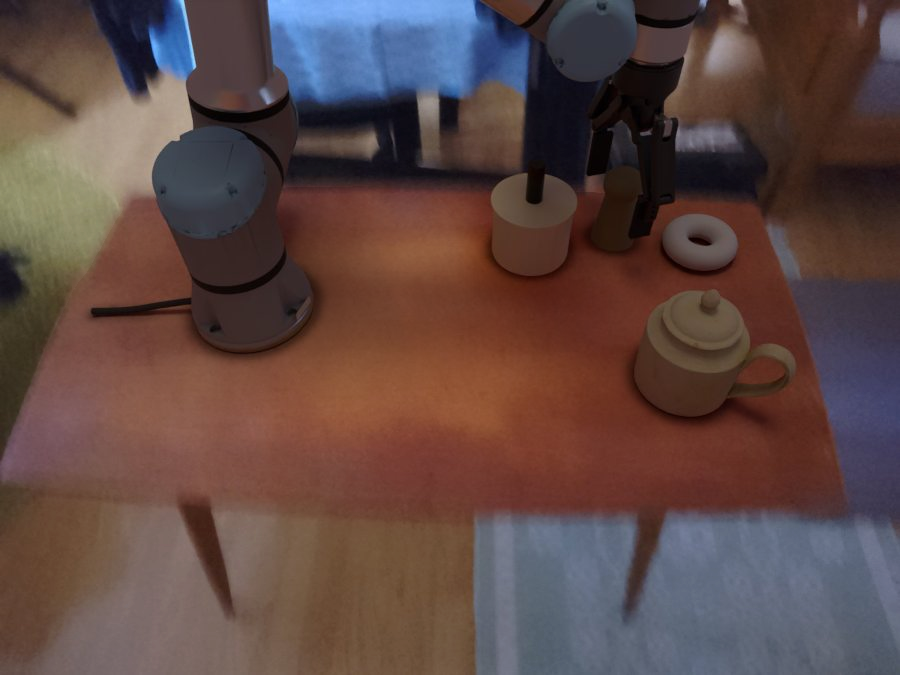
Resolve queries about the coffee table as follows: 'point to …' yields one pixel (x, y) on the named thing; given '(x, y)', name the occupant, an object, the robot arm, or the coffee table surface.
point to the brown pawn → (617, 209)
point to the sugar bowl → (701, 355)
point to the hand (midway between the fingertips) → (616, 203)
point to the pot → (529, 247)
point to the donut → (698, 255)
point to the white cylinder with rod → (534, 199)
